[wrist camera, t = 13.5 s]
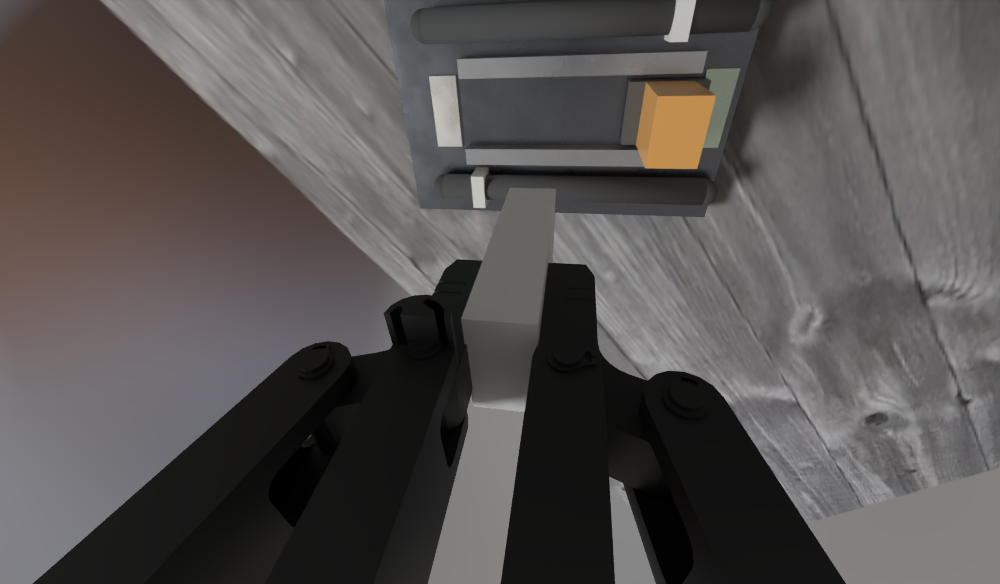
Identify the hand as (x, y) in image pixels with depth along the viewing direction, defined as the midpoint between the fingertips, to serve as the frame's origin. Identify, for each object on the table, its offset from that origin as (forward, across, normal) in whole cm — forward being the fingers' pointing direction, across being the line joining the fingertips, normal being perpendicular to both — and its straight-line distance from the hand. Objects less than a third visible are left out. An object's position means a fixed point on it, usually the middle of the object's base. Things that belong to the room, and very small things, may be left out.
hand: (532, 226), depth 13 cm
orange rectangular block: (+19, +7, 0) cm, 20 cm away
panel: (+21, 0, 0) cm, 21 cm away
